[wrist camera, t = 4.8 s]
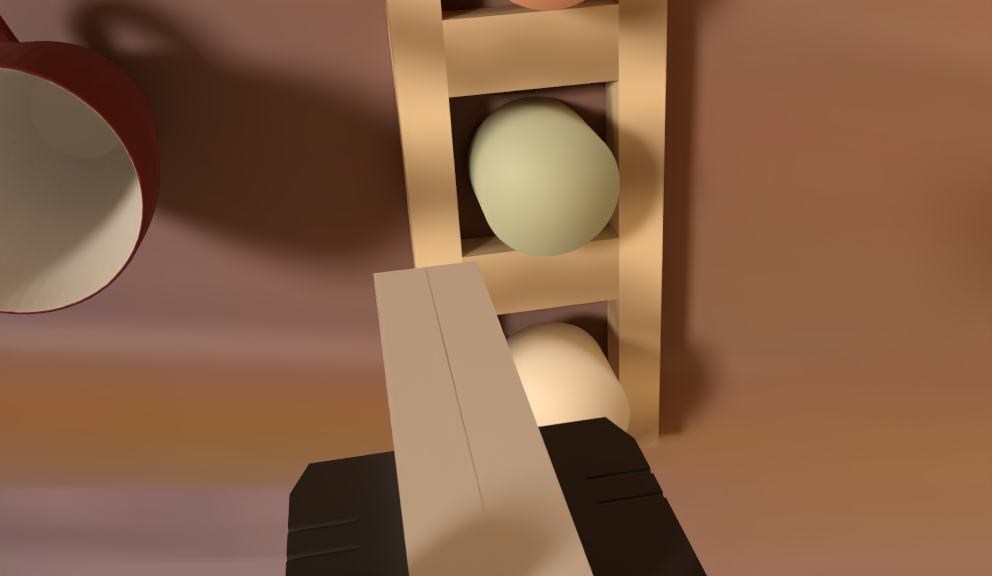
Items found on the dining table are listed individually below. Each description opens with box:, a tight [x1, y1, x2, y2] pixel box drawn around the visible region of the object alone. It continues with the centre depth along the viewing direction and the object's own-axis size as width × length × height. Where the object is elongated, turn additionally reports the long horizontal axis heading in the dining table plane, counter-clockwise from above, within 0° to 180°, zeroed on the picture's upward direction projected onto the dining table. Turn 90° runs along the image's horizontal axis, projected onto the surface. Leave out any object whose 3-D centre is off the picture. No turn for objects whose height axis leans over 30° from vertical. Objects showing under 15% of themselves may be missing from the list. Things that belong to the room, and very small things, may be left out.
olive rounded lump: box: [467, 97, 620, 257], centre depth 38 cm, size 6×6×4 cm
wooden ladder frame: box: [385, 0, 667, 449], centre depth 40 cm, size 30×11×2 cm, turn 3°
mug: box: [0, 16, 160, 314], centre depth 32 cm, size 11×8×10 cm
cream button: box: [506, 322, 630, 432], centre depth 42 cm, size 6×6×4 cm
